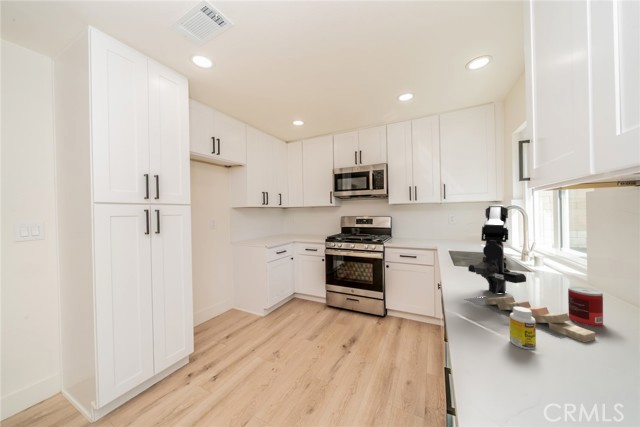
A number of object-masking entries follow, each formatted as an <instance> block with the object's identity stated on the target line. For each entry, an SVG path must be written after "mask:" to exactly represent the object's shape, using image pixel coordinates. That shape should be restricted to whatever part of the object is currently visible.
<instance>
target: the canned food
mask: <svg viewBox="0 0 640 427" xmlns="http://www.w3.org/2000/svg"><path fill="white" fill-rule="evenodd" d="M567 288H568V289H567V290H568V291H567V298H568V302H567V303H568V308H567V309H568V316H569V318H570V321H573V322H575V323H578V324H582V325H584V326H590V327H602V326H603V325H604V297H603V296H604V294H603V292H602V291H600V290H597V289H594V288H589V287H584V286H569V287H567Z"/></svg>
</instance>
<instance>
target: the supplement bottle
mask: <svg viewBox="0 0 640 427" xmlns="http://www.w3.org/2000/svg"><path fill="white" fill-rule="evenodd" d="M536 332H537V331H536V321H535V319H534V318H533V317H532V311H531V310H530V309H527V308H524V307H513V313H511V314H510V318H509V340H510V342H511V343H512V344H513V345H514V346H516V347H518V348H519V349H520V348H521V349H524V350H532V349H535V348H536V346H537V343H536V342H537V341H536V340H537V339H536V338H537V337H536V334H537V333H536Z"/></svg>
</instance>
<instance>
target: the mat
mask: <svg viewBox="0 0 640 427" xmlns="http://www.w3.org/2000/svg"><path fill="white" fill-rule="evenodd" d="M477 297H478V296H475V297H468V298H464V299H463V301H467V302H469V303H472V304H475V305H476V306H479V307H481V308H484V309H486V310H489V311H492V312H494V313H496V314H499V315H502V316H504V317H506V318H509V319H510V314H511V313H513V310H499V307H498V304H490V305H486V302H485V300H484V299H490V298H491V297H489V296H486V297H483V298H482V297H481V298H477ZM536 329H537V330H539V331H542V332H544V333H546V334H549V335H552V336H554V337H556V338H559V339H564V338H567V337H569V336H567V335H564V334H562V333H559V332H556V331H554V330H551V329H549V323H548V322H536Z"/></svg>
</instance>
